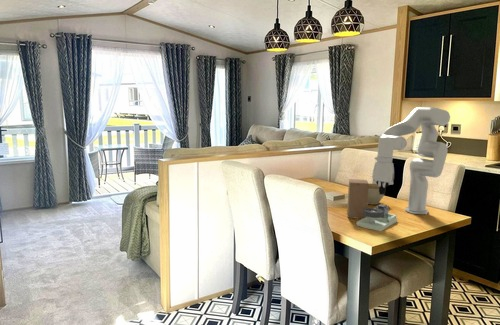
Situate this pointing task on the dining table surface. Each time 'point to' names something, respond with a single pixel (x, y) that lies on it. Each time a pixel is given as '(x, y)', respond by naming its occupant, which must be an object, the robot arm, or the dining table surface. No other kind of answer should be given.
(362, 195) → the wooden block
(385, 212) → the block
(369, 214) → the faceted grey bowl
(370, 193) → the planter bowl
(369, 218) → the chassis
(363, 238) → the dining table surface
